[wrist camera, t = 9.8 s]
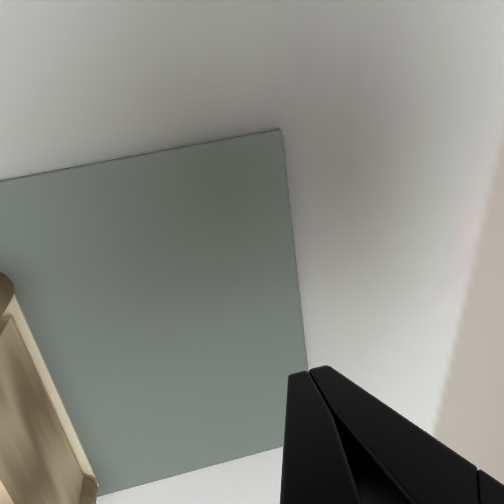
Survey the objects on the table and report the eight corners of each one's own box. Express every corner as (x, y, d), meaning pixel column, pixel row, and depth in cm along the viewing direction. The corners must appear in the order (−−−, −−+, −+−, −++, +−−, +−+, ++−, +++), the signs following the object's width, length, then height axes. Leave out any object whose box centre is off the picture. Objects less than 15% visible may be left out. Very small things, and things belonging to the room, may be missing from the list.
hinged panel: (-25, 325, 20) (-94, 430, 14) (22, 314, 20) (-29, 415, 15) (66, 506, 25) (41, 633, 20) (101, 496, 26) (87, 619, 20)
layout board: (-416, 258, 17) (-432, 263, 16) (279, 128, 20) (281, 130, 19) (-146, 556, 25) (-151, 565, 24) (313, 432, 28) (316, 438, 28)
